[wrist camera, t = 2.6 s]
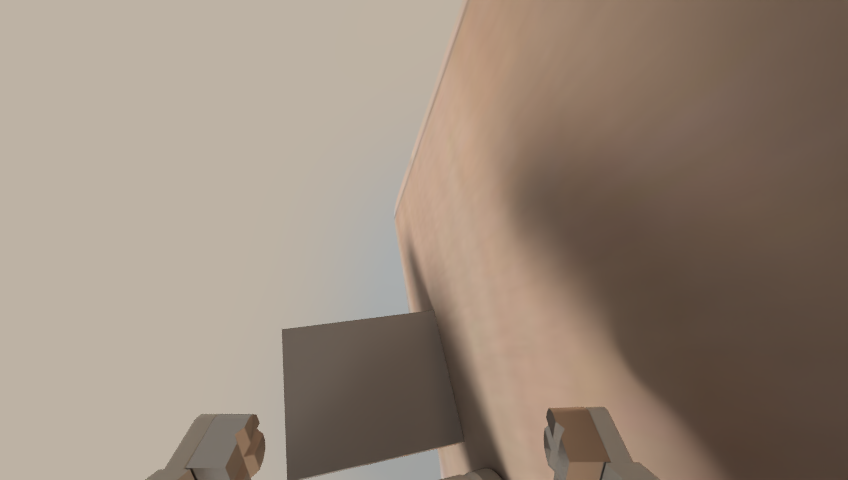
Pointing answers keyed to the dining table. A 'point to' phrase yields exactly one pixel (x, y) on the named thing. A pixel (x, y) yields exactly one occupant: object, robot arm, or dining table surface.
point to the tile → (365, 393)
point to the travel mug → (476, 475)
